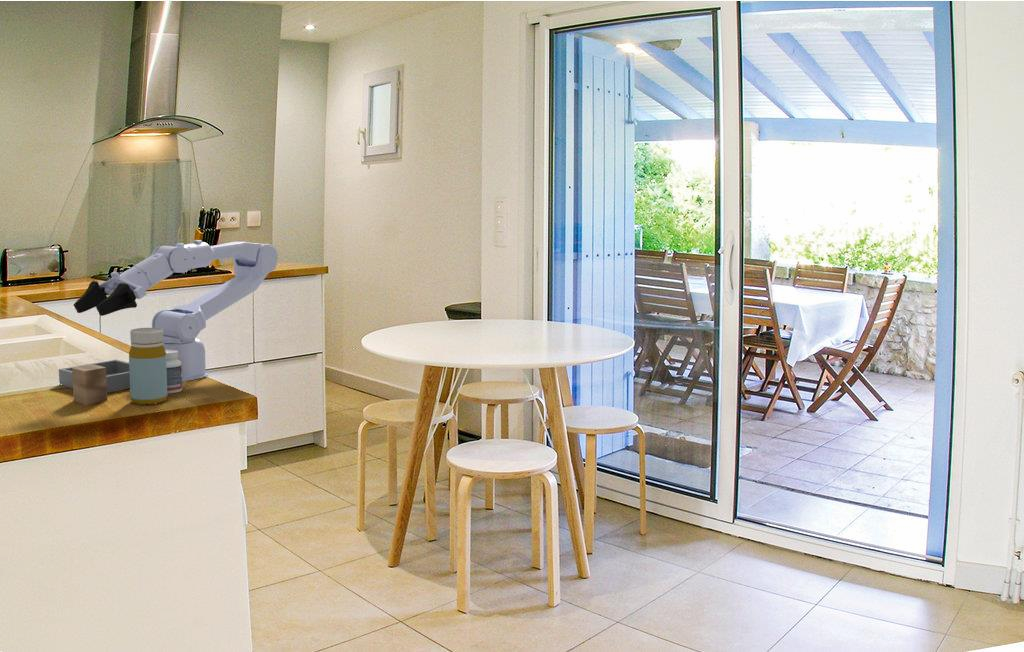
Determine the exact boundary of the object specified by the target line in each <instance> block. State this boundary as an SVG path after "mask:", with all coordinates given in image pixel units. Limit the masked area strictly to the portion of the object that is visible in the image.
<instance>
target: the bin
mask: <svg viewBox="0 0 1024 652" xmlns="http://www.w3.org/2000/svg"><path fill="white" fill-rule="evenodd" d="M92 364H94V365H98V366H102V367H106V380H107V394H108V393H113V392H117V391H122V390H127V389H130V372H129V361H128V362H127V361H125V360H120V359H111V360H106V361H101V362H99V361H98V362H93V363H87V364H82V365H75V366H70V367H65V368H64V367H63V368H59V369H58V380H59V381H58V382H59V383H60V384H62V385H63V387H66V388H70V389H73V376H72V368H74V367H80V366H86V365H92ZM59 383H58V384H59ZM60 384H59V385H60ZM62 385H61V386H62Z"/></svg>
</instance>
